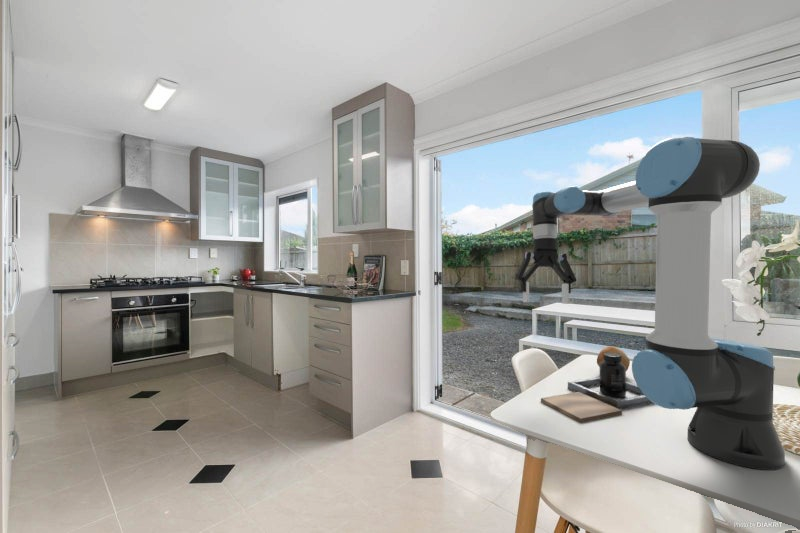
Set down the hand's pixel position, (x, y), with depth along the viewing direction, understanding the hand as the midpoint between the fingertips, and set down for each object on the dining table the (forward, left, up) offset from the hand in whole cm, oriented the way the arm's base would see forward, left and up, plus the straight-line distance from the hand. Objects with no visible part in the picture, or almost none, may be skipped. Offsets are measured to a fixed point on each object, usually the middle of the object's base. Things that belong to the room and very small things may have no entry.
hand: (545, 303), depth 117 cm
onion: (-2, -28, -27) cm, 38 cm away
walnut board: (-19, +5, -26) cm, 33 cm away
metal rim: (-15, -12, -26) cm, 32 cm away
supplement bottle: (-15, -12, -27) cm, 33 cm away
